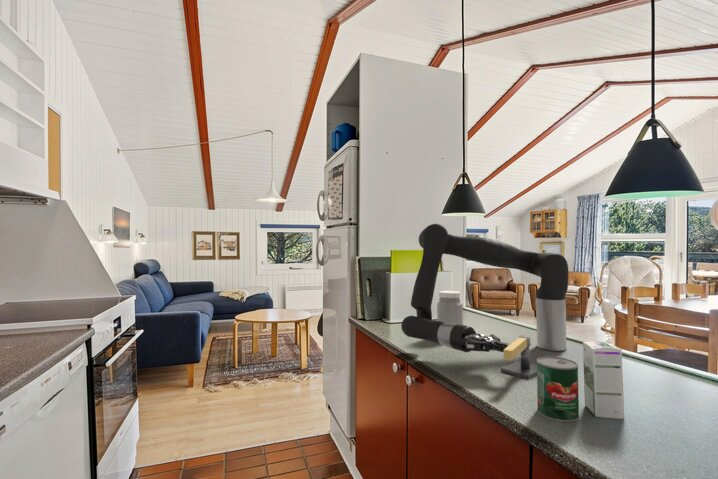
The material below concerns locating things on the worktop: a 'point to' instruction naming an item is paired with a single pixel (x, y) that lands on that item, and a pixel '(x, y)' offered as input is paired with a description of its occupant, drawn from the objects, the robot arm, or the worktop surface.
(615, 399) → the syrup box
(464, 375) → the worktop surface
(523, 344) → the bar
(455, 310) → the jar
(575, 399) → the canned tomato
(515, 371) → the post
